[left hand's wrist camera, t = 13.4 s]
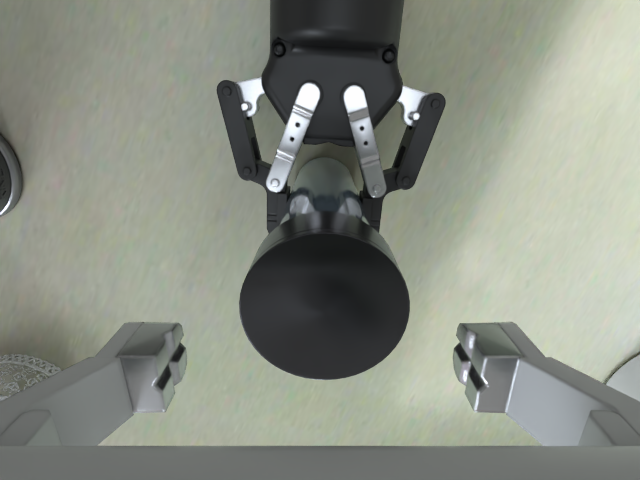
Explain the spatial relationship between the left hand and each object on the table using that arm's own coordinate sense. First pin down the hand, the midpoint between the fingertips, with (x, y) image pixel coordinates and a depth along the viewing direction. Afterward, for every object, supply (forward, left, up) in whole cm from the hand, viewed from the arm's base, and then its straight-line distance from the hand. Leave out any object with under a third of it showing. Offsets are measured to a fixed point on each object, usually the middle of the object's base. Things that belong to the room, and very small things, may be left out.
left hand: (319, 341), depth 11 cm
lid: (0, 0, -2) cm, 2 cm away
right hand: (0, +3, -15) cm, 15 cm away
